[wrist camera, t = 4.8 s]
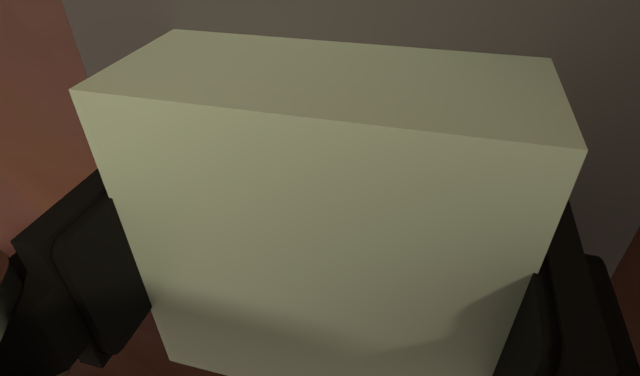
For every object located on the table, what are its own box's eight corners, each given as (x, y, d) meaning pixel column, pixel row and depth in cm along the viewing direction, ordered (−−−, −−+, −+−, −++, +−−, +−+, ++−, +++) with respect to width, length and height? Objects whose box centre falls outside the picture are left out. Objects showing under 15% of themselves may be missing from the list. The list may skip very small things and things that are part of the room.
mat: (815, -129, 6) (834, -127, 5) (543, 383, 13) (545, 396, 12) (37, -123, 8) (19, -123, 8) (171, 299, 15) (166, 308, 15)
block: (550, 58, 7) (588, 149, 5) (470, 321, 11) (470, 439, 9) (174, 29, 9) (68, 89, 7) (223, 270, 13) (169, 360, 11)
